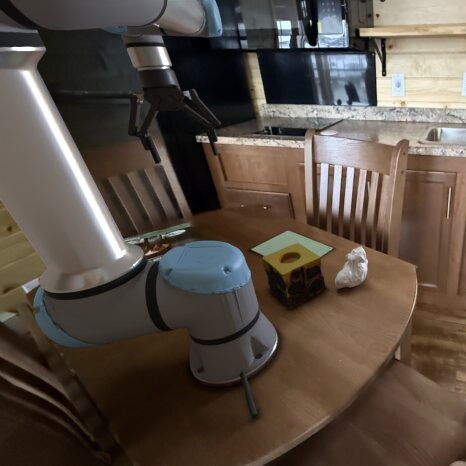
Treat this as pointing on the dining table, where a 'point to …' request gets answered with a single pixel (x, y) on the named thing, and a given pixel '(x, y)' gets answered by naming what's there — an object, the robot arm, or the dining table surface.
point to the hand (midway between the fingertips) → (188, 158)
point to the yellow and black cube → (294, 274)
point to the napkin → (288, 240)
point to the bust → (353, 269)
